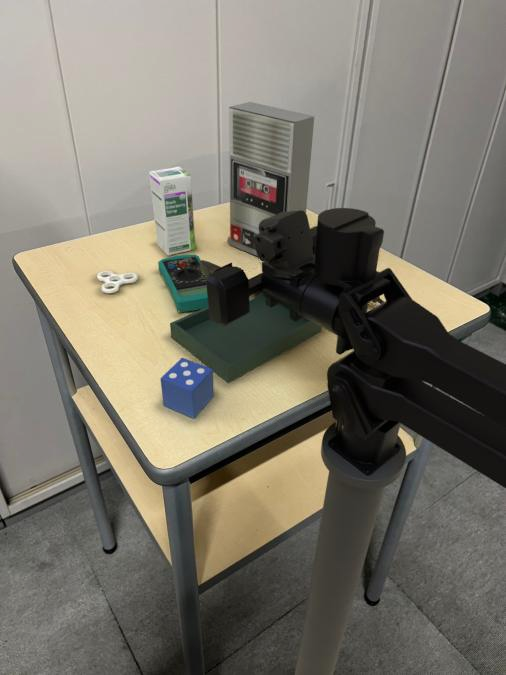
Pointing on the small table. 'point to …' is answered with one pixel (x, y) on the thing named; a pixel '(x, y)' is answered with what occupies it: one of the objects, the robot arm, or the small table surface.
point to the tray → (241, 337)
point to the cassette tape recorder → (266, 167)
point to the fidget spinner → (115, 284)
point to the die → (187, 387)
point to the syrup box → (173, 210)
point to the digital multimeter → (185, 281)
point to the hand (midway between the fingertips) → (228, 251)
